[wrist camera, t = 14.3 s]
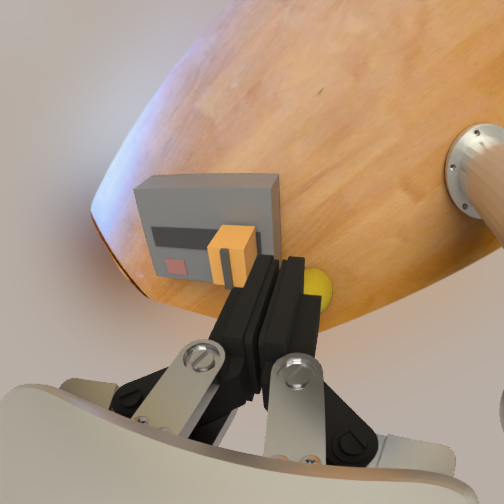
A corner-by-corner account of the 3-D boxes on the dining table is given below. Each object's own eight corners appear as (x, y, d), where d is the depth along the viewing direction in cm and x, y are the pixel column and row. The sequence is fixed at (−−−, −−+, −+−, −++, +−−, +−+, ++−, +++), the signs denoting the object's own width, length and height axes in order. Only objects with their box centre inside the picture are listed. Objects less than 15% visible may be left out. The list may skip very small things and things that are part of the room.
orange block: (255, 226, 35) (241, 252, 31) (257, 262, 38) (246, 291, 34) (222, 224, 36) (205, 250, 32) (227, 259, 39) (212, 287, 35)
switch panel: (278, 173, 37) (270, 189, 33) (281, 267, 44) (275, 290, 40) (152, 175, 41) (132, 189, 37) (170, 257, 49) (156, 276, 45)
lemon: (299, 253, 42) (291, 290, 36) (337, 261, 42) (336, 299, 35) (293, 283, 46) (284, 321, 39) (328, 291, 45) (325, 330, 38)
